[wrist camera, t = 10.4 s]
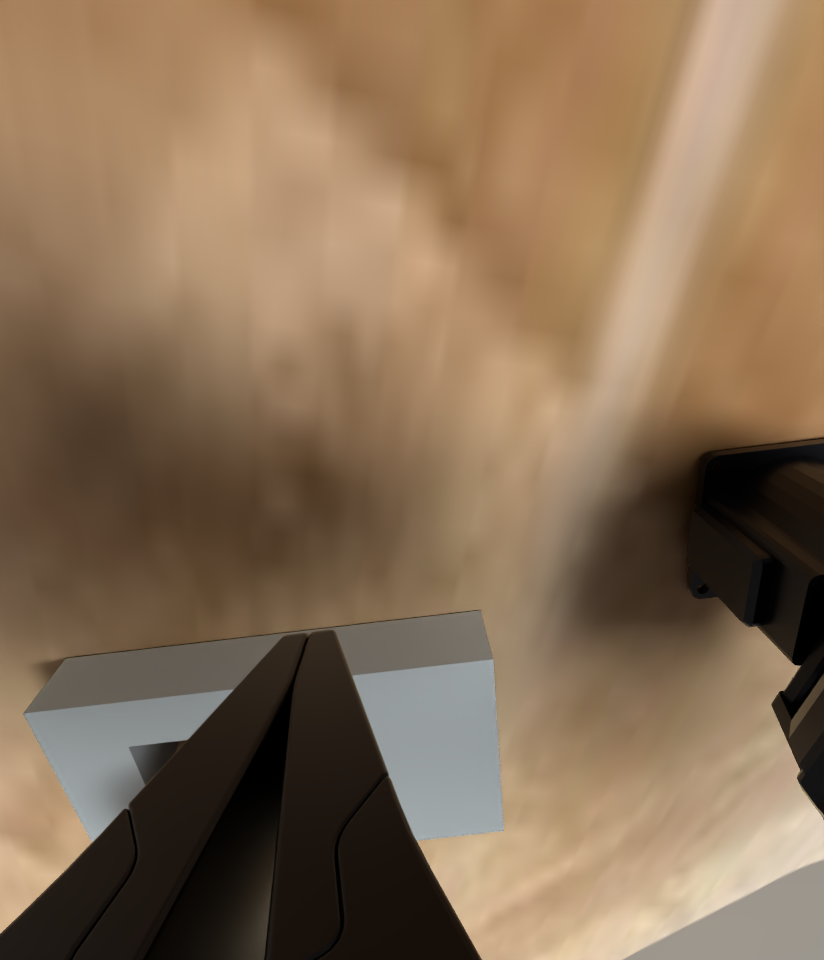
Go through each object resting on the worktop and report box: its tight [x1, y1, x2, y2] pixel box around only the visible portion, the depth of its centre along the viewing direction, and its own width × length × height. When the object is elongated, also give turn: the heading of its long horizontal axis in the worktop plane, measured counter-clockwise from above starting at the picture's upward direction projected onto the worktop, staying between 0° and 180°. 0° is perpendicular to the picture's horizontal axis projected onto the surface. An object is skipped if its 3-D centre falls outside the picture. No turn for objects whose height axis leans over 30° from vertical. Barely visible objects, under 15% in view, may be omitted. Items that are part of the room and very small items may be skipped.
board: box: [23, 610, 504, 842], centre depth 24 cm, size 18×10×3 cm, turn 96°
